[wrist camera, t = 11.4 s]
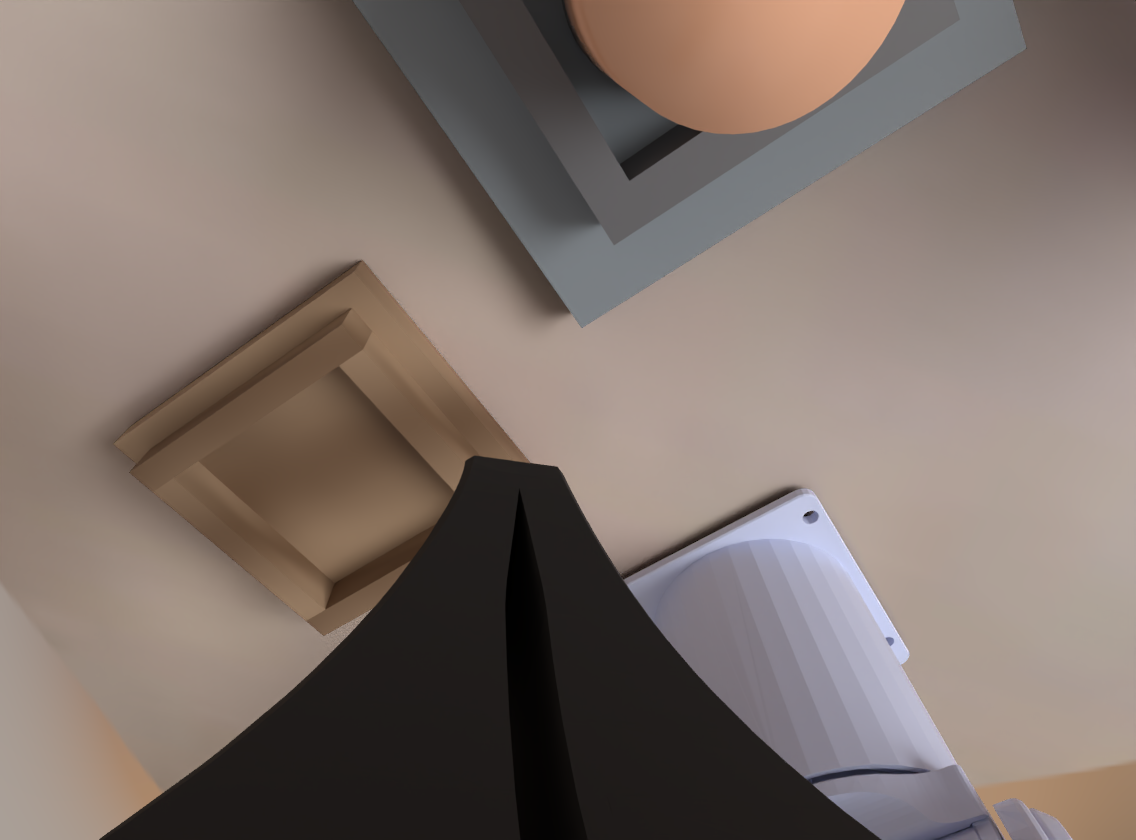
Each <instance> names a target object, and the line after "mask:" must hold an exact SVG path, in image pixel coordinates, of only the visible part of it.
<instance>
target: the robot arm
mask: <svg viewBox="0 0 1136 840" xmlns="http://www.w3.org/2000/svg"><path fill="white" fill-rule="evenodd" d="M809 511H814V512H813V513H812V514H811V515H810V516H806V517H805V516H804V514H805V513H807V512H809ZM908 657H909V651H908V649H907V648H906V646H905V644H904V643H903V641H902V639H901V638H900V636H899V634H898V633H897V631H896V629H895V627H894V626H893V624H892V622H891V621H890V619H889V617H888V616H887V614H886V612H885V611H884V609H883V607H882V606H881V604H880V602H879V601H878V599H877V597H876V595H875V594H874V592H873V590H872V589H871V587H870V585H869V584H868V582H867V580H866V579H865V577H864V575H863V574H862V572H861V570H860V569H859V567H858V565H857V564H856V562H855V560H854V558H853V557H852V555H851V553H850V552H849V550H848V548H847V547H846V545H845V543H844V542H843V540H842V538H841V537H840V535H839V533H838V532H837V530H836V528H835V526H834V525H833V523H832V521H831V520H830V518H829V516H828V515H827V513H826V511H825V510H824V508H823V506H822V505H821V503H820V501H819V500H818V498H817V496H816V495H815V493H814V492H813V491H812V490H809V489H807V488H805V489H798V490H795V491H793V492H791V493H789V494H787V495H785V496H783V497H781V498H779V499H778V500H776V501H774V502H772V503H770V504H768V505H766V506H764V507H762V508H760V509H758V510H756V511H754V512H752V513H751V514H749V515H747V516H745V517H743V518H741V519H739V520H737V521H735V522H733V523H731V524H729V525H727V526H726V527H724V528H722V529H720V530H718V531H716V532H714V533H712V534H710V535H708V536H706V537H704V538H702V539H701V540H699V541H697V542H695V543H693V544H691V545H689V546H687V547H685V548H683V549H681V550H679V551H677V552H676V553H674V554H672V555H670V556H668V557H666V558H664V559H662V560H660V561H658V562H656V563H654V564H652V565H651V566H649V567H647V568H645V569H643V570H641V571H639V572H637V573H635V574H633V575H631V576H629V577H627V578H625V579H624V580H623V578H622V577H621V575H620V574H619V572H618V571H617V569H616V568H615V566H614V565H613V563H612V561H611V560H610V558H609V557H608V555H607V553H606V552H605V550H604V549H603V547H602V545H601V544H600V542H599V540H598V539H597V537H596V535H595V534H594V532H593V530H592V528H591V527H590V525H589V523H588V521H587V520H586V518H585V516H584V514H583V512H582V511H581V509H580V507H579V505H578V503H577V501H576V499H575V497H574V495H573V493H572V491H571V489H570V487H569V485H568V483H567V481H566V479H565V477H564V475H563V474H562V472H561V471H560V470H559V468H558V467H555V466H548V465H540V464H533V463H526V462H519V461H512V460H504V459H497V458H490V457H483V456H476V455H474V456H472V457H471V458H469V459H467V460H466V461H465V465H464V470H463V473H462V475H461V478H460V481H459V483H458V485H457V487H456V490H455V492H454V494H453V496H452V497H451V499H450V501H449V503H448V505H447V507H446V509H445V510H444V512H443V514H442V515H441V517H440V518H439V520H438V522H437V523H436V525H435V526H434V528H433V530H432V531H431V533H430V534H429V536H428V538H427V539H426V541H425V542H424V544H423V545H422V547H421V548H420V549H419V551H418V552H417V553H416V555H415V556H414V557H413V559H412V560H411V561H410V563H409V564H408V565H407V567H406V568H405V569H404V571H403V572H402V573H401V575H400V576H399V577H398V579H397V580H396V581H395V583H394V584H393V585H392V586H391V588H390V589H389V590H388V591H387V593H386V594H385V595H384V596H383V597H382V599H381V600H380V601H379V602H378V603H377V604H376V606H375V607H374V608H373V609H372V610H371V611H370V612H369V614H368V615H367V616H366V617H365V618H364V619H363V620H362V621H361V622H360V623H359V625H358V626H357V627H356V628H355V629H354V630H353V631H352V632H351V633H350V634H349V635H348V636H347V637H346V638H345V639H344V640H343V641H342V642H341V643H340V644H339V645H338V646H337V647H336V648H335V649H334V650H333V651H332V652H331V653H330V654H329V655H328V656H327V657H326V658H325V659H324V660H323V661H322V662H321V663H320V664H319V665H318V666H317V667H316V668H315V669H314V670H313V671H312V672H311V673H310V674H309V675H308V676H307V677H306V678H305V679H304V680H303V681H301V682H300V683H299V684H298V685H297V686H296V687H295V688H294V689H293V690H292V691H290V692H289V693H288V694H287V695H286V696H285V697H284V698H282V699H281V700H280V701H279V702H278V703H276V704H275V705H274V706H273V707H272V708H271V709H269V710H268V711H267V712H266V713H265V714H263V715H262V716H261V717H260V718H259V719H257V720H256V721H255V722H254V723H253V724H251V725H250V726H249V727H248V728H247V729H245V730H244V731H243V732H242V733H241V734H239V735H238V736H237V737H236V738H235V739H234V740H232V741H231V742H230V743H229V744H228V745H226V746H225V747H224V748H223V749H221V750H220V751H219V752H218V753H216V754H215V755H214V756H213V757H211V758H210V759H209V760H207V761H206V762H205V763H204V764H202V765H201V766H200V767H198V768H197V769H195V770H194V771H193V772H191V773H190V774H189V775H187V776H186V777H184V778H183V779H182V780H180V781H179V782H178V783H176V784H175V785H173V786H172V787H171V788H169V789H168V790H167V791H165V792H164V793H162V794H161V795H160V796H158V797H157V798H156V799H154V800H153V801H151V802H150V803H149V804H147V805H146V806H145V807H143V808H142V809H140V810H139V811H138V812H136V813H135V814H133V815H132V816H131V817H129V818H128V819H127V820H125V821H124V822H122V823H121V824H120V825H118V826H117V827H116V828H114V829H113V830H111V831H110V832H108V833H107V834H106V835H104V836H103V837H102V838H100V839H99V840H1005V838H1004V836H1003V835H1002V833H1001V832H1000V830H999V828H998V827H997V825H996V823H995V822H994V820H993V819H992V817H991V815H990V814H989V812H988V810H987V809H986V807H985V806H984V804H983V802H982V801H981V799H980V797H979V796H978V794H977V792H976V791H975V789H974V787H973V786H972V784H971V783H970V781H969V779H968V778H967V776H966V774H965V773H964V771H963V770H962V768H961V767H960V766H959V765H957V763H956V761H955V759H954V758H953V756H952V754H951V752H950V751H949V749H948V747H947V745H946V744H945V742H944V740H943V738H942V737H941V735H940V733H939V731H938V730H937V728H936V726H935V724H934V723H933V721H932V719H931V717H930V716H929V714H928V712H927V710H926V709H925V707H924V705H923V703H922V702H921V700H920V698H919V696H918V695H917V693H916V691H915V689H914V688H913V686H912V684H911V682H910V681H909V679H908V677H907V675H906V674H905V672H904V670H903V668H902V667H901V664H903V663H904V662H905V661H906V660H907V659H908ZM993 807H994V809H995V811H996V812H997V814H998V816H999V817H1000V819H1001V821H1002V823H1003V824H1004V826H1005V828H1006V830H1007V831H1008V833H1009V835H1010V837H1011V838H1012V840H1073V839H1072V838H1071V837H1070V835H1069V834H1068V833H1067V831H1066V830H1065V828H1064V827H1063V826H1062V825H1061V823H1060V822H1059V821H1058V820H1057V819H1056V818H1054V817H1053V816H1050V815H1048V814H1046V813H1043V812H1041V811H1039V810H1036V809H1034V808H1031V809H1028V808H1027V806H1026V805H1025V804H1024V803H1023V802H1022V801H1021V800H1018V799H1016V798H1012V799H1008V800H1005V801H1002V802H1000V803H997V804H994V805H993Z"/></svg>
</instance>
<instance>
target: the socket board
mask: <svg viewBox="0 0 1136 840" xmlns="http://www.w3.org/2000/svg"><path fill="white" fill-rule="evenodd" d="M352 1H353V2H354V3H355V5H356V6H357V8H358V9H359V11H360V12H361V13H362V15H363V16H364V18H365V19H366V21H367V22H368V23H369V25H370V26H371V28H372V29H373V31H374V32H375V33H376V35H377V36H378V38H379V39H380V41H381V42H382V43H383V45H384V46H385V48H386V49H387V51H388V52H389V53H390V55H391V56H392V58H393V59H394V61H395V62H396V63H397V65H398V66H399V68H400V69H401V71H402V72H403V73H404V75H405V76H406V78H407V79H408V81H409V82H410V83H411V85H412V86H413V88H414V89H415V91H416V92H417V93H418V95H419V96H420V98H421V99H422V101H423V102H424V103H425V105H426V106H427V108H428V109H429V111H430V112H431V113H432V115H433V116H434V118H435V119H436V121H437V122H438V123H439V125H440V126H441V128H442V129H443V131H444V132H445V133H446V135H447V136H448V138H449V139H450V141H451V142H452V143H453V145H454V146H455V148H456V149H457V151H458V152H459V153H460V155H461V156H462V158H463V159H464V161H465V162H466V163H467V165H468V166H469V168H470V169H471V171H472V172H473V173H474V175H475V176H476V178H477V179H478V181H479V182H480V183H481V185H482V186H483V188H484V189H485V191H486V192H487V193H488V195H489V196H490V198H491V199H492V201H493V202H494V203H495V205H496V206H497V208H498V209H499V211H500V212H501V213H502V215H503V216H504V218H505V219H506V221H507V222H508V223H509V225H510V226H511V228H512V229H513V231H514V232H515V233H516V235H517V236H518V238H519V239H520V241H521V242H522V243H523V245H524V246H525V248H526V249H527V251H528V252H529V253H530V255H531V256H532V258H533V259H534V261H535V262H536V263H537V265H538V266H539V268H540V269H541V271H542V272H543V273H544V275H545V276H546V278H547V279H548V281H549V282H550V283H551V285H552V286H553V288H554V289H555V291H556V292H557V293H558V295H559V296H560V298H561V299H562V301H563V302H564V303H565V305H566V306H567V308H568V309H569V311H570V312H571V313H572V315H573V316H574V318H575V319H576V321H577V322H578V323H579V325H580V326H581V328H583V327H584V326H586V325H587V324H589V323H591V322H592V321H594V320H595V319H597V318H599V317H600V316H602V315H603V314H605V313H606V312H608V311H610V310H611V309H613V308H614V307H616V306H618V305H619V304H621V303H622V302H624V301H626V300H627V299H629V298H630V297H632V296H634V295H635V294H637V293H638V292H640V291H641V290H643V289H645V288H646V287H648V286H649V285H651V284H653V283H654V282H656V281H657V280H659V279H661V278H662V277H664V276H665V275H667V274H669V273H670V272H672V271H673V270H675V269H677V268H678V267H680V266H681V265H683V264H684V263H686V262H688V261H689V260H691V259H692V258H694V257H696V256H697V255H699V254H700V253H702V252H704V251H705V250H707V249H708V248H710V247H712V246H713V245H715V244H716V243H718V242H719V241H721V240H723V239H724V238H726V237H727V236H729V235H731V234H732V233H734V232H735V231H737V230H739V229H740V228H742V227H743V226H745V225H747V224H748V223H750V222H751V221H753V220H755V219H756V218H758V217H759V216H761V215H762V214H764V213H766V212H767V211H769V210H770V209H772V208H774V207H775V206H777V205H778V204H780V203H782V202H783V201H785V200H786V199H788V198H790V197H791V196H793V195H794V194H796V193H797V192H799V191H801V190H802V189H804V188H805V187H807V186H809V185H810V184H812V183H813V182H815V181H817V180H818V179H820V178H821V177H823V176H825V175H826V174H828V173H829V172H831V171H833V170H834V169H836V168H837V167H839V166H840V165H842V164H844V163H845V162H847V161H848V160H850V159H852V158H853V157H855V156H856V155H858V154H860V153H861V152H863V151H864V150H866V149H868V148H869V147H871V146H872V145H874V144H875V143H877V142H879V141H880V140H882V139H883V138H885V137H887V136H888V135H890V134H891V133H893V132H895V131H896V130H898V129H899V128H901V127H903V126H904V125H906V124H907V123H909V122H911V121H912V120H914V119H915V118H917V117H918V116H920V115H922V114H923V113H925V112H926V111H928V110H930V109H931V108H933V107H934V106H936V105H938V104H939V103H941V102H942V101H944V100H946V99H947V98H949V97H950V96H952V95H953V94H955V93H957V92H958V91H960V90H961V89H963V88H965V87H966V86H968V85H969V84H971V83H973V82H974V81H976V80H977V79H979V78H981V77H982V76H984V75H985V74H987V73H988V72H990V71H992V70H993V69H995V68H996V67H998V66H1000V65H1001V64H1003V63H1004V62H1006V61H1008V60H1009V59H1011V58H1012V57H1014V56H1016V55H1017V54H1019V53H1020V52H1022V51H1024V50H1025V49H1027V48H1026V45H1025V41H1024V38H1023V34H1022V31H1021V27H1020V24H1019V20H1018V17H1017V13H1016V10H1015V6H1014V3H1013V0H905V2H904V4H903V6H902V8H901V10H900V12H899V15H898V17H897V19H896V21H895V23H894V25H893V26H892V28H891V30H890V31H889V33H888V35H887V36H886V38H885V40H884V41H883V43H882V44H881V46H880V47H879V48H878V50H877V51H876V52H875V54H874V55H873V56H872V58H871V59H870V60H869V62H868V63H867V64H866V65H865V67H864V68H863V69H862V70H861V71H860V72H859V73H858V74H857V75H856V76H855V77H854V78H853V79H852V81H851V82H850V83H848V84H847V85H846V86H845V87H844V88H843V89H841V90H840V91H839V92H838V93H837V94H836V95H835V96H833V97H832V98H831V99H829V100H828V101H826V102H825V103H823V104H822V105H821V106H819V107H818V108H816V109H815V110H813V111H811V112H809V113H807V114H805V115H804V116H802V117H800V118H798V119H796V120H794V121H791V122H789V123H786V124H783V125H781V126H778V127H775V128H771V129H767V130H763V131H759V132H754V133H744V134H715V133H709V132H704V131H699V130H694V129H691V128H688V127H686V126H683V125H680V124H677V123H675V122H673V121H671V120H669V119H667V118H665V117H663V116H661V115H659V114H658V113H656V112H655V111H654V110H652V109H651V108H649V107H648V106H647V105H645V104H644V103H643V102H641V101H640V100H639V99H637V98H636V97H635V96H633V95H632V94H631V93H629V92H628V91H627V90H625V89H624V88H623V87H621V86H620V85H619V84H617V83H616V82H615V81H613V80H612V79H611V78H609V77H608V76H607V75H605V74H604V73H603V72H601V71H600V70H599V69H598V68H597V67H596V66H595V65H594V64H593V63H591V62H590V60H589V59H588V58H587V57H586V55H585V54H584V53H583V52H582V50H581V49H580V47H579V46H578V44H577V42H576V41H575V39H574V37H573V35H572V33H571V30H570V28H569V26H568V23H567V20H566V17H565V14H564V10H563V5H562V0H352Z"/></svg>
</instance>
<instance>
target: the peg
mask: <svg viewBox="0 0 1136 840" xmlns="http://www.w3.org/2000/svg"><path fill="white" fill-rule="evenodd" d="M904 2H905V0H562V5H563V10H564V14H565V17H566V20H567V23H568V26H569V28H570V30H571V33H572V35H573V37H574V39H575V41H576V42H577V44H578V46H579V47H580V49H581V50H582V52H583V53H584V54H585V55H586V57H587V58H588V59H589V60H590V62H591V63H593V64H594V65H595V66H596V67H597V68H598V69H599V70H600V71H601V72H603V73H604V74H605V75H607V76H608V77H609V78H611V79H612V80H613V81H615V82H616V83H617V84H619V85H620V86H621V87H623V88H624V89H625V90H627V91H628V92H629V93H631V94H632V95H633V96H635V97H636V98H637V99H639V100H640V101H641V102H643V103H644V104H645V105H647V106H648V107H649V108H651V109H652V110H654V111H655V112H656V113H658V114H659V115H661V116H663V117H665V118H667V119H669V120H671V121H673V122H675V123H677V124H680V125H683V126H686V127H688V128H691V129H694V130H699V131H704V132H709V133H715V134H744V133H754V132H759V131H763V130H767V129H771V128H775V127H778V126H781V125H783V124H786V123H789V122H791V121H794V120H796V119H798V118H800V117H802V116H804V115H805V114H807V113H809V112H811V111H813V110H815V109H816V108H818V107H819V106H821V105H822V104H823V103H825V102H826V101H828V100H829V99H831V98H832V97H833V96H835V95H836V94H837V93H838V92H839V91H840V90H841V89H843V88H844V87H845V86H846V85H847V84H848V83H850V82H851V81H852V79H853V78H854V77H855V76H856V75H857V74H858V73H859V72H860V71H861V70H862V69H863V68H864V67H865V65H866V64H867V63H868V62H869V60H870V59H871V58H872V56H873V55H874V54H875V52H876V51H877V50H878V48H879V47H880V46H881V44H882V43H883V41H884V40H885V38H886V36H887V35H888V33H889V31H890V30H891V28H892V26H893V25H894V23H895V21H896V19H897V17H898V15H899V12H900V10H901V8H902V6H903V4H904Z"/></svg>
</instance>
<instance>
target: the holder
mask: <svg viewBox="0 0 1136 840" xmlns="http://www.w3.org/2000/svg"><path fill="white" fill-rule="evenodd" d="M114 445H115V446H116V447H117V448H118V449H120V450H121V451H122V452H123V453H124V454H125V455H127V456H128V457H129V458H130V459H131V460H132V461H134V462H135V463H136V465H135V467H134V468H133V469H132V470H131V471H130V472H129V473H131V474H132V475H133V476H134V477H135V478H137V479H138V480H139V481H140V482H141V483H142V484H144V485H145V486H146V487H147V488H148V489H150V490H151V491H152V492H153V493H154V494H156V495H157V496H158V497H159V498H160V499H162V500H163V501H164V502H165V503H166V504H167V505H169V506H170V507H171V508H172V509H173V510H175V511H176V512H177V513H178V514H179V515H181V516H182V517H183V518H184V519H185V520H187V521H188V522H189V523H190V524H191V525H192V526H194V527H195V528H196V529H197V530H198V531H200V532H201V533H202V534H203V535H204V536H206V537H207V538H208V539H209V540H210V541H211V542H213V543H214V544H215V545H216V546H217V547H219V548H220V549H221V550H222V551H223V552H225V553H226V554H227V555H228V556H229V557H231V558H232V559H233V560H234V561H235V562H236V563H238V564H239V565H240V566H241V567H242V568H244V569H245V570H246V571H247V572H248V573H250V574H251V575H252V576H253V577H254V578H256V579H257V580H258V581H259V582H260V583H261V584H263V585H264V586H265V587H266V588H267V589H269V590H270V591H271V592H272V593H273V594H275V595H276V596H277V597H278V598H279V599H281V600H282V601H283V602H284V603H285V604H286V605H288V606H289V607H290V608H291V609H292V610H294V611H295V612H296V613H297V614H298V615H300V616H301V617H302V618H303V619H304V620H305V621H307V622H308V623H309V624H310V625H311V626H313V627H314V628H315V629H316V630H317V631H319V632H320V633H321V634H322V635H323V636H324V635H326V634H328V633H330V632H332V631H333V630H335V629H337V628H339V627H340V626H342V625H344V624H346V623H347V622H349V621H351V620H353V619H355V618H356V617H358V616H360V615H362V614H363V613H365V612H367V611H369V610H371V609H372V608H374V607H375V606H376V604H377V603H378V602H379V601H380V600H381V599H382V597H383V596H384V595H385V594H386V593H387V591H388V590H389V589H390V588H391V586H392V585H393V584H394V583H395V581H396V580H397V579H398V577H399V576H400V575H401V573H402V572H403V571H404V569H405V568H406V567H407V565H408V564H409V563H410V561H411V560H412V559H413V557H414V556H415V555H416V553H417V552H418V551H419V549H420V548H421V547H422V545H423V544H424V542H425V541H426V539H427V538H428V536H429V534H430V533H431V531H432V530H433V528H434V526H435V525H436V523H437V522H438V520H439V518H440V517H441V515H442V514H443V512H444V510H445V509H446V507H447V505H448V503H449V501H450V499H451V497H452V496H453V494H454V492H455V490H456V487H457V485H458V483H459V481H460V478H461V475H462V473H463V470H464V465H465V461H466V460H467V459H469V458H471V457H472V456H474V455H476V456H483V457H490V458H497V459H504V460H512V461H519V462H526V463H530V462H529V461H528V459H527V458H526V457H525V456H524V455H523V453H522V452H521V451H520V450H519V449H518V447H517V446H516V445H515V444H514V443H513V441H512V440H511V439H510V438H509V437H508V435H507V434H506V433H505V432H504V430H503V429H502V428H501V427H500V426H499V424H498V423H497V422H496V421H495V420H494V418H493V417H492V416H491V415H490V414H489V412H488V411H487V410H486V409H485V408H484V406H483V405H482V404H481V403H480V402H479V400H478V399H477V398H476V397H475V395H474V394H473V393H472V392H471V391H470V389H469V388H468V387H467V386H466V385H465V383H464V382H463V381H462V380H461V379H460V377H459V376H458V375H457V374H456V373H455V371H454V370H453V369H452V368H451V366H450V365H449V364H448V363H447V362H446V360H445V359H444V358H443V357H442V356H441V354H440V353H439V352H438V351H437V350H436V348H435V347H434V346H433V345H432V344H431V342H430V341H429V340H428V339H427V337H426V336H425V335H424V334H423V333H422V331H421V330H420V329H419V328H418V327H417V325H416V324H415V323H414V322H413V321H412V319H411V318H410V317H409V316H408V315H407V313H406V312H405V311H404V310H403V309H402V307H401V306H400V305H399V304H398V302H397V301H396V300H395V299H394V298H393V296H392V295H391V294H390V293H389V292H388V290H387V289H386V288H385V287H384V286H383V284H382V283H381V282H380V281H379V280H378V278H377V277H376V276H375V275H374V273H373V272H372V271H371V270H370V269H369V267H368V266H367V265H366V264H365V263H364V261H363V260H362V261H360V262H359V263H357V264H356V265H355V266H353V267H352V268H351V269H349V270H348V271H346V272H345V273H344V274H342V275H341V276H339V277H338V278H337V279H335V280H334V281H332V282H331V283H330V284H328V285H327V286H325V287H324V288H323V289H321V290H320V291H318V292H317V293H316V294H314V295H313V296H312V297H310V298H309V299H307V300H306V301H305V302H303V303H302V304H300V305H299V306H298V307H296V308H295V309H293V310H292V311H291V312H289V313H288V314H286V315H285V316H284V317H282V318H281V319H279V320H278V321H277V322H275V323H274V324H273V325H271V326H270V327H268V328H267V329H266V330H264V331H263V332H261V333H260V334H259V335H257V336H256V337H254V338H253V339H252V340H250V341H249V342H247V343H246V344H245V345H243V346H242V347H240V348H239V349H238V350H236V351H235V352H234V353H232V354H231V355H229V356H228V357H227V358H225V359H224V360H222V361H221V362H220V363H218V364H217V365H215V366H214V367H213V368H211V369H210V370H208V371H207V372H206V373H204V374H203V375H201V376H200V377H199V378H197V379H196V380H195V381H193V382H192V383H190V384H189V385H188V386H186V387H185V388H183V389H182V390H181V391H179V392H178V393H176V394H175V395H174V396H172V397H171V398H169V399H168V400H167V401H165V402H164V403H162V404H161V405H160V406H158V407H157V408H155V409H154V410H153V411H151V412H150V413H149V414H147V415H146V416H144V417H143V418H142V419H140V420H139V421H137V422H136V423H135V424H133V425H132V426H130V427H129V428H128V429H127V430H126V431H125V432H124V434H123V435H122V436H121V437H120V438H119V439H118V440H117V441H116V442H115V443H114Z"/></svg>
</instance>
